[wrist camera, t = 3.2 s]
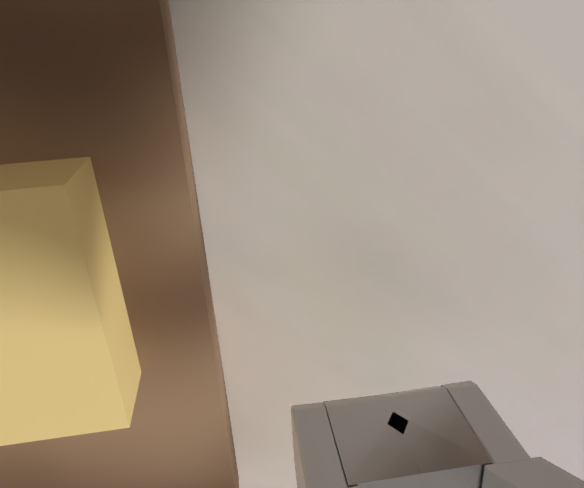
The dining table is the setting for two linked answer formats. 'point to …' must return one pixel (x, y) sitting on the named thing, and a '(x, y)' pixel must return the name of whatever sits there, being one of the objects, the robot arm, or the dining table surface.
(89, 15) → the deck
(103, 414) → the pale yellow flat block
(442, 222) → the dining table surface
